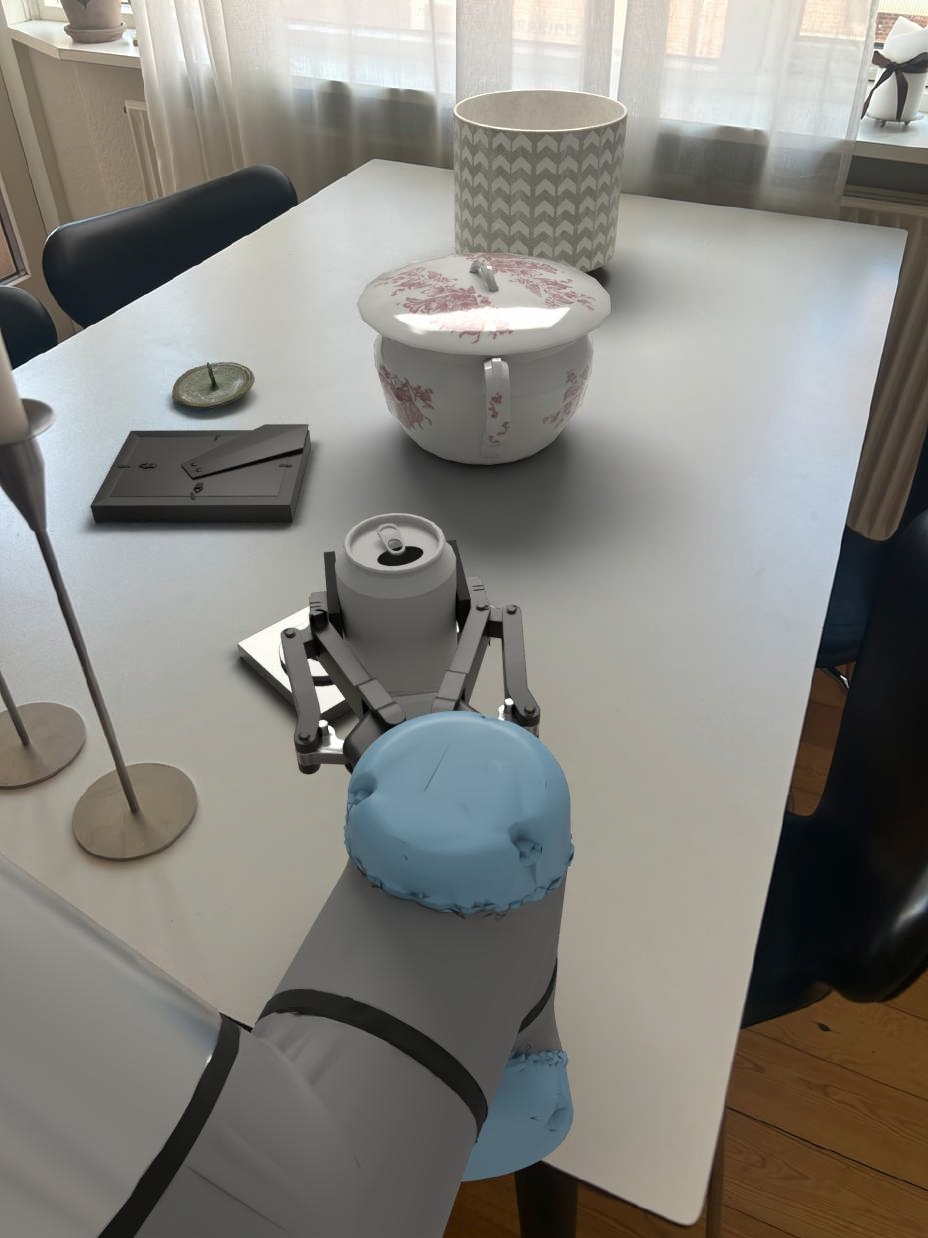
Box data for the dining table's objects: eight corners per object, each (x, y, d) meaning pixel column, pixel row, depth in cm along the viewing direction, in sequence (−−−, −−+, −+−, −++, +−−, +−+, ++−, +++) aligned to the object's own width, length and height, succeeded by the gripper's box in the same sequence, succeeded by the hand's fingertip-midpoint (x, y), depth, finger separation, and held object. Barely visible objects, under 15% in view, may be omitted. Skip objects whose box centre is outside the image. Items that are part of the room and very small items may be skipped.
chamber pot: (457, 362, 129) (455, 202, 116) (640, 420, 117) (661, 247, 104) (316, 450, 112) (294, 273, 99) (513, 528, 100) (519, 338, 86)
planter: (629, 256, 159) (645, 95, 144) (588, 313, 142) (601, 137, 126) (487, 238, 166) (488, 83, 151) (431, 291, 149) (426, 121, 133)
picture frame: (311, 445, 113) (134, 446, 113) (308, 423, 111) (129, 424, 111) (292, 521, 101) (95, 522, 101) (289, 498, 99) (88, 499, 99)
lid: (269, 395, 126) (267, 356, 124) (234, 412, 117) (231, 371, 115) (196, 390, 128) (192, 351, 126) (156, 406, 119) (151, 365, 117)
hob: (239, 656, 85) (235, 634, 84) (413, 563, 95) (412, 543, 94) (319, 729, 78) (315, 707, 77) (497, 621, 89) (497, 600, 87)
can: (369, 734, 63) (355, 588, 55) (334, 662, 68) (316, 520, 60) (475, 700, 65) (475, 556, 57) (433, 634, 70) (428, 493, 62)
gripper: (240, 901, 50) (248, 619, 67) (623, 850, 52) (535, 590, 69) (215, 809, 45) (230, 530, 62) (638, 757, 47) (539, 502, 64)
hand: (391, 562), depth 66 cm, fingers closed on can, 7 cm apart
